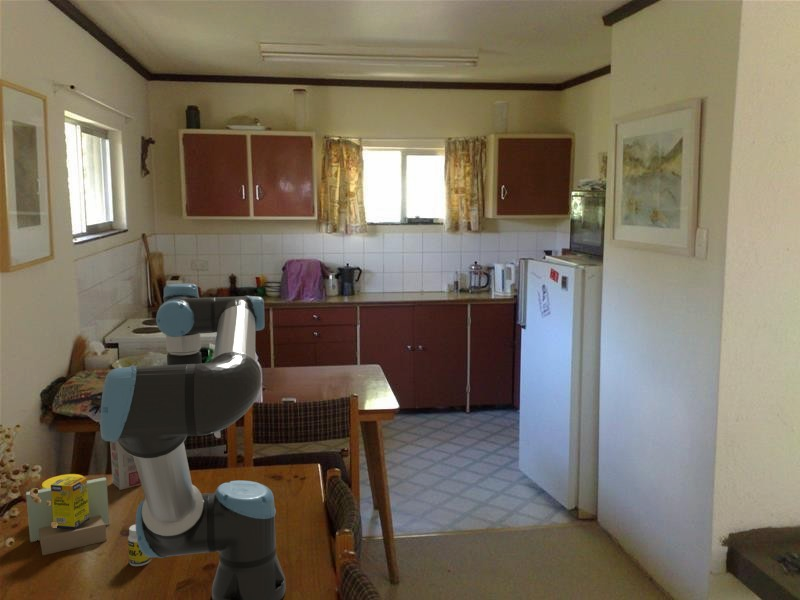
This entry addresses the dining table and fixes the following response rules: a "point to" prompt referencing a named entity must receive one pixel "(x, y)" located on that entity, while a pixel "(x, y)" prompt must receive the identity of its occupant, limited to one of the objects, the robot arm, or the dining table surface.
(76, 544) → the letter holder
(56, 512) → the supplement box
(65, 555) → the dining table surface
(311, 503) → the dining table surface
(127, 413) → the robot arm
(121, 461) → the juice carton
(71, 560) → the dining table surface
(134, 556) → the supplement bottle
